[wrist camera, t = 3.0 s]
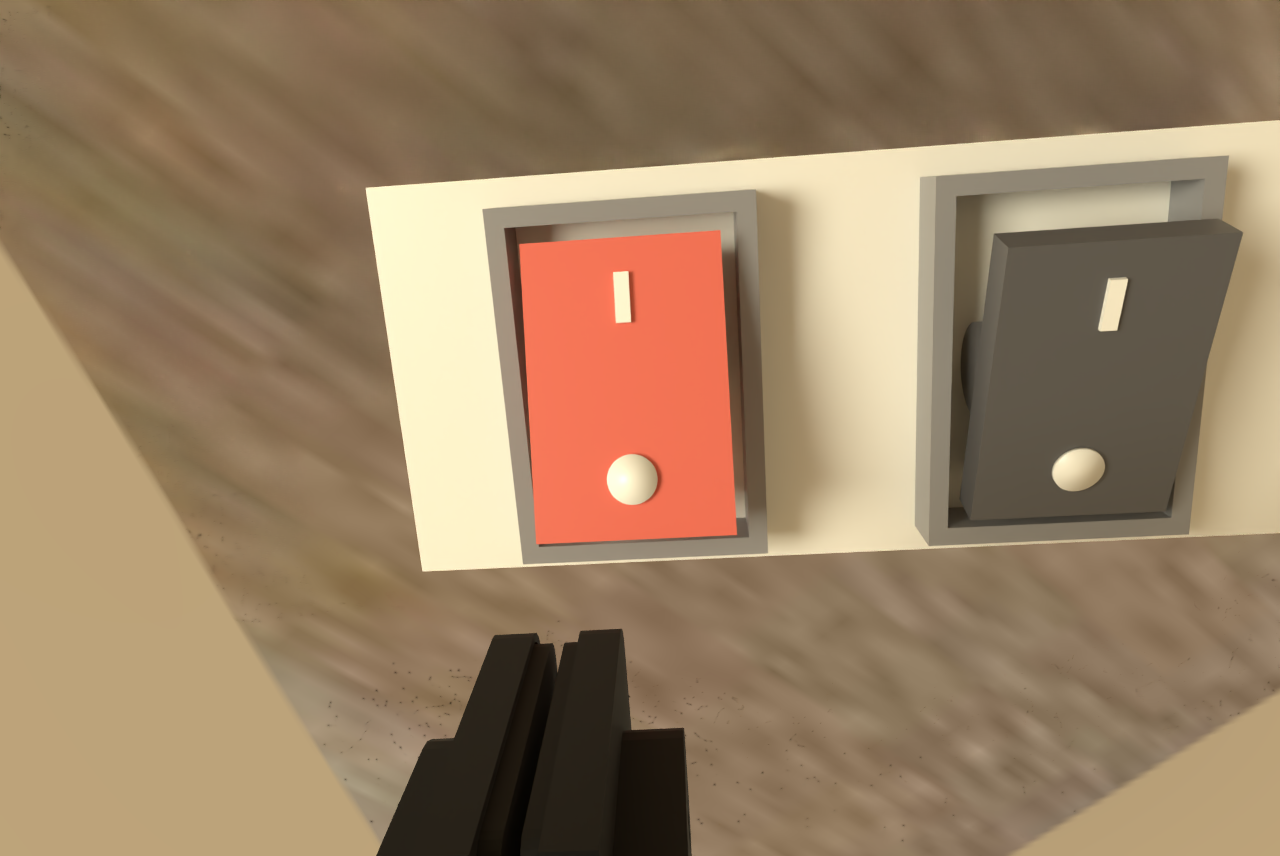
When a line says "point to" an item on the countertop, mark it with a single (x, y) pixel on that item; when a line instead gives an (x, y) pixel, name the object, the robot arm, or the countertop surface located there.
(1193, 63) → the countertop surface
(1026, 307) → the black rocker
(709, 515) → the red rocker
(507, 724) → the robot arm
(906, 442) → the rocker switch panel
